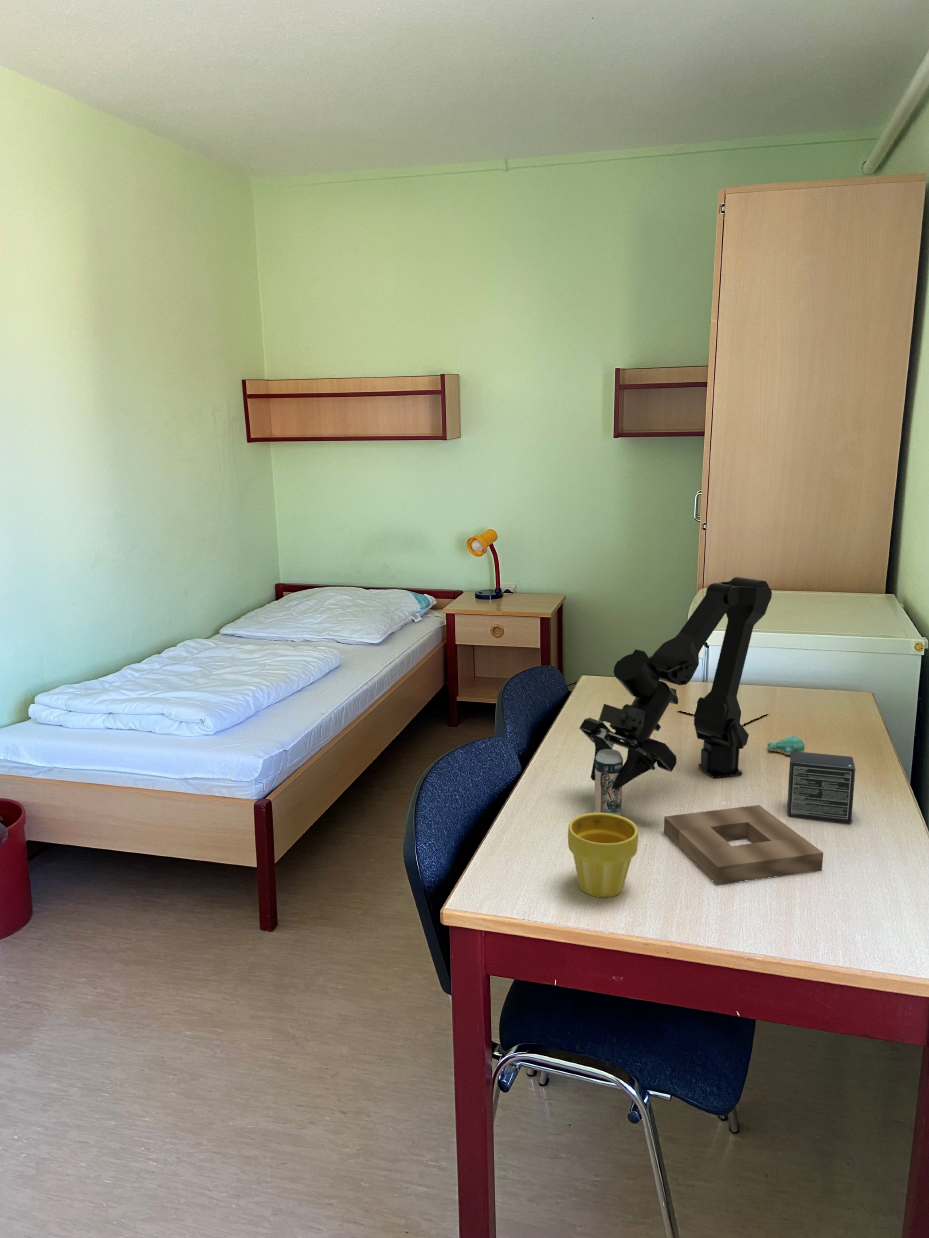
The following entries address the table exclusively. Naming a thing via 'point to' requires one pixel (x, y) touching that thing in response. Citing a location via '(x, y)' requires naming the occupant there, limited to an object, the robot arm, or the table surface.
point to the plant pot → (602, 851)
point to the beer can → (607, 782)
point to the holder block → (763, 858)
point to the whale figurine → (787, 745)
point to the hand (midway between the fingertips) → (603, 783)
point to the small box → (821, 787)
